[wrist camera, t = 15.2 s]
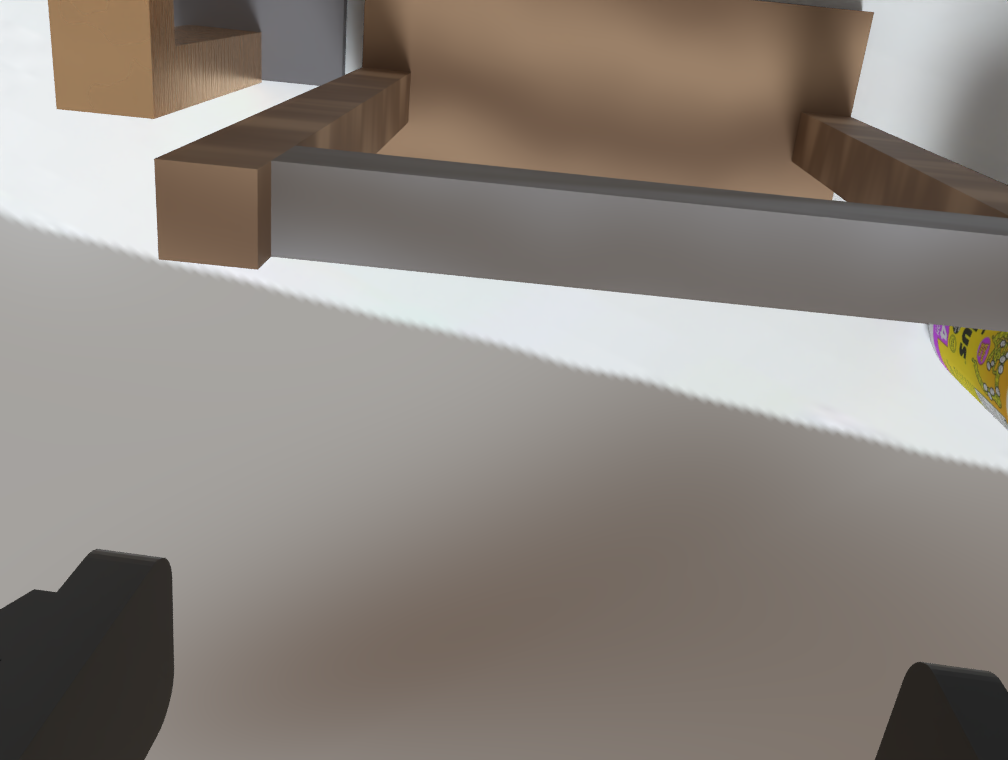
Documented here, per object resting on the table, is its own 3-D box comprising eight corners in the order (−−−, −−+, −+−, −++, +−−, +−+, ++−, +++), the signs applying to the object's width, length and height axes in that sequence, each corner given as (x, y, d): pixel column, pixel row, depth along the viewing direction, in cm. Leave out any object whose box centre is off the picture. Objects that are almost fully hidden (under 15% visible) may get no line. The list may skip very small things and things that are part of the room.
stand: (372, -39, 39) (144, -69, 17) (862, 11, 39) (1271, 45, 17) (363, 204, 43) (166, 438, 21) (809, 250, 43) (1088, 533, 21)
